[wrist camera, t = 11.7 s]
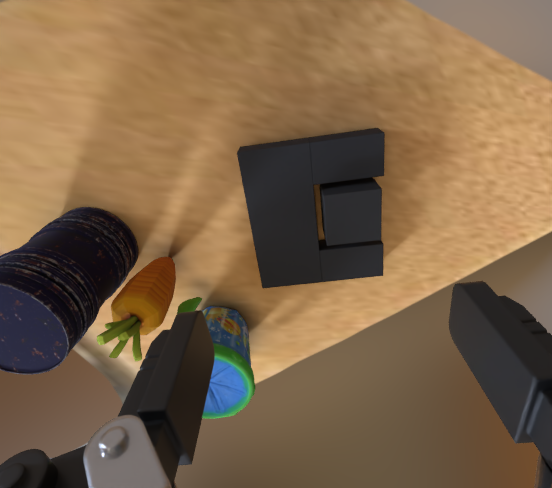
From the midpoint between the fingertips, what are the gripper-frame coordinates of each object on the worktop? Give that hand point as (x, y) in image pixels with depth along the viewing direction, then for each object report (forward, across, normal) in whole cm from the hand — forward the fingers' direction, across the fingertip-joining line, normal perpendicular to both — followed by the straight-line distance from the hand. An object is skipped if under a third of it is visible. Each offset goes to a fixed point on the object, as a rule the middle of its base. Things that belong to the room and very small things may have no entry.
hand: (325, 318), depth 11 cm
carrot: (+27, +17, +12) cm, 34 cm away
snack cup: (+26, +13, +23) cm, 37 cm away
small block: (+26, -5, +8) cm, 28 cm away
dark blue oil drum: (+27, +25, +8) cm, 37 cm away
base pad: (+26, -1, +8) cm, 28 cm away
